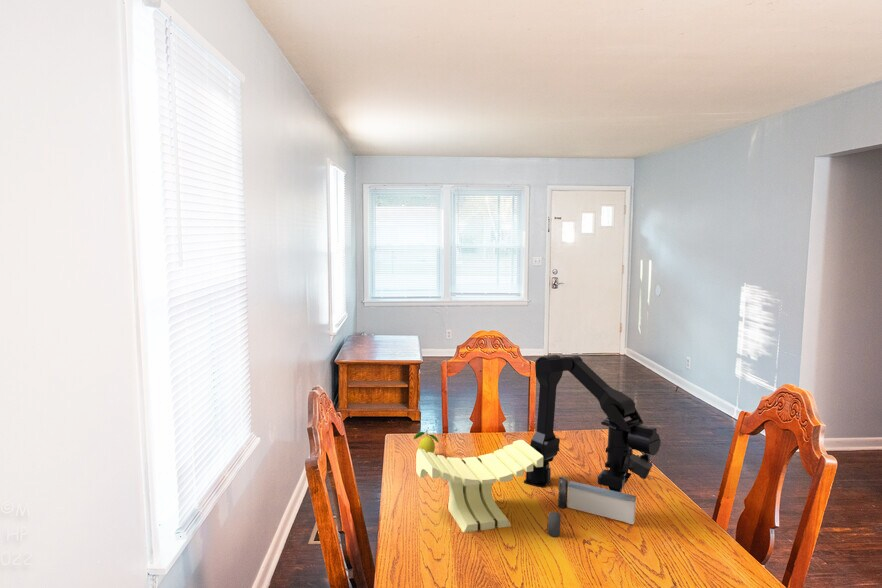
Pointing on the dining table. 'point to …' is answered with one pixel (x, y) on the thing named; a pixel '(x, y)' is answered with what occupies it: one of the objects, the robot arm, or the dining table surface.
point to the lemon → (426, 442)
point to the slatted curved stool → (478, 481)
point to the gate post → (563, 492)
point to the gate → (602, 502)
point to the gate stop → (554, 524)
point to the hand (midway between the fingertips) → (616, 500)
